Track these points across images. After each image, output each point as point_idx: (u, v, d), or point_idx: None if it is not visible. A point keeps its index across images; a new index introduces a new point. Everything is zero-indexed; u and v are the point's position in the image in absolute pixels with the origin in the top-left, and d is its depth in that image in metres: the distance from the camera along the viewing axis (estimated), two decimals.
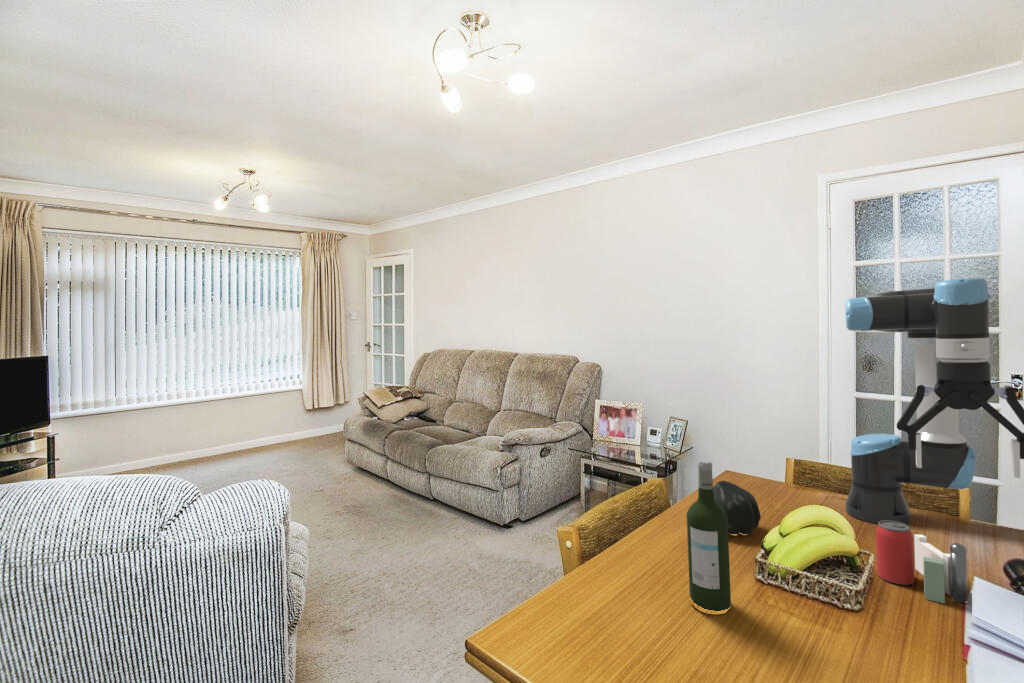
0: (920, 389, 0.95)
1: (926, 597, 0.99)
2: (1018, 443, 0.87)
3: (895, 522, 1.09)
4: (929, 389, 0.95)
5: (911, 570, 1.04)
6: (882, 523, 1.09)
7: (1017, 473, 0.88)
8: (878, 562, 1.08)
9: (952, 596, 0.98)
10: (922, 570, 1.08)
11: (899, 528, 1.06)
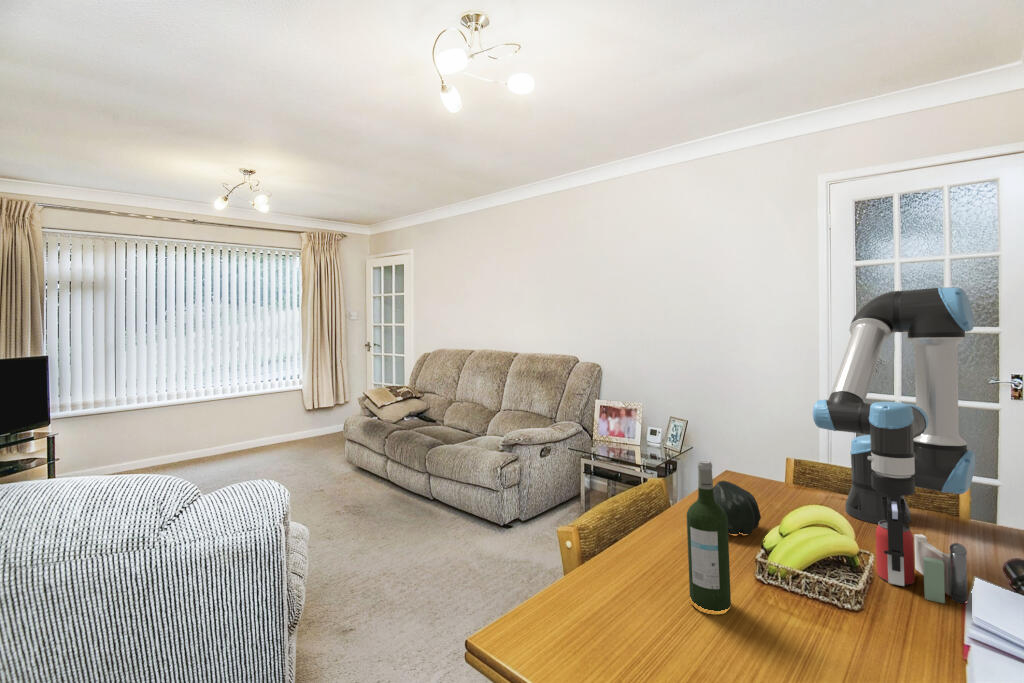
0: (885, 494, 1.12)
1: (926, 597, 0.99)
2: (887, 553, 1.05)
3: None
4: None
5: (911, 570, 1.04)
6: (882, 523, 1.09)
7: (888, 578, 1.05)
8: (878, 562, 1.08)
9: (952, 596, 0.98)
10: (922, 570, 1.08)
11: None
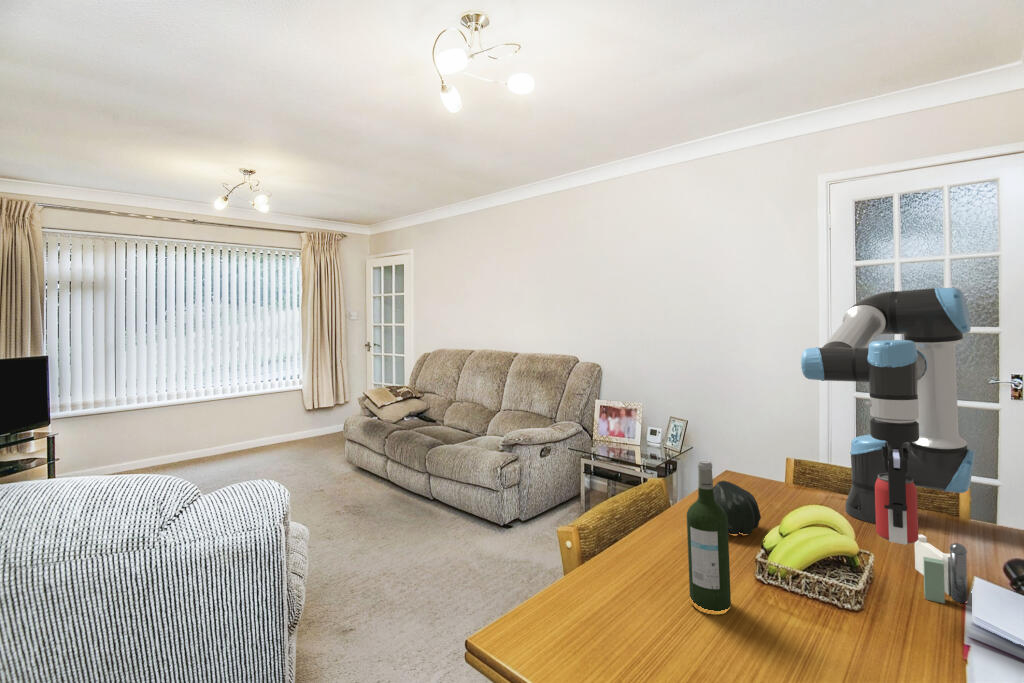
0: (885, 446, 1.01)
1: (926, 597, 0.99)
2: (888, 508, 0.93)
3: None
4: None
5: (915, 526, 0.92)
6: (882, 476, 0.97)
7: (889, 536, 0.93)
8: (877, 519, 0.96)
9: (952, 596, 0.98)
10: (922, 570, 1.08)
11: None
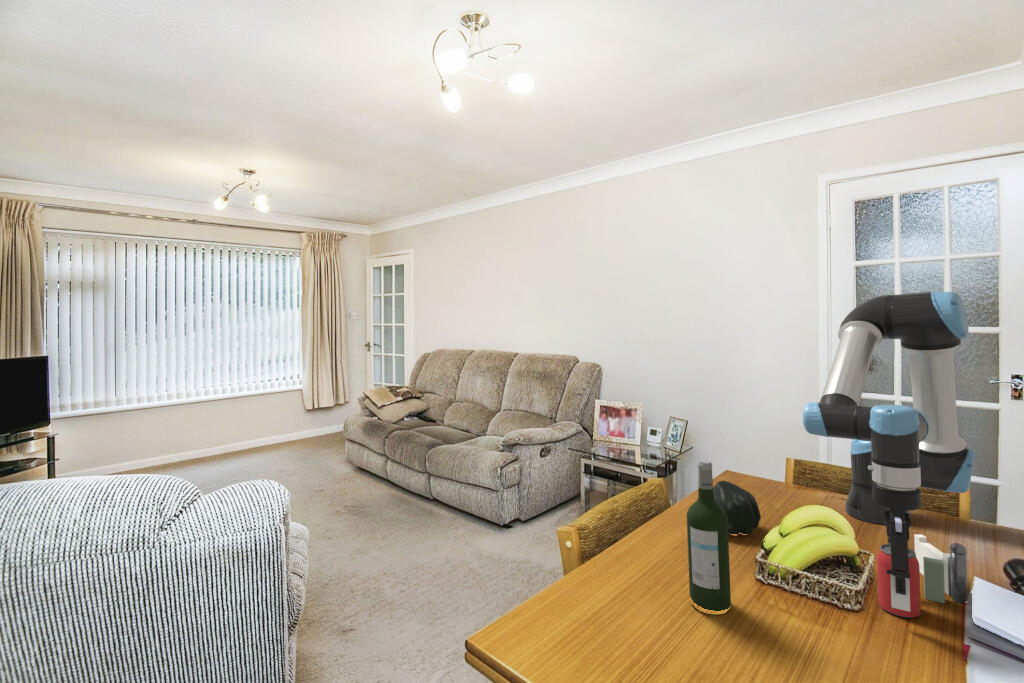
0: None
1: (926, 597, 0.99)
2: None
3: None
4: None
5: (917, 601, 0.93)
6: (884, 547, 0.97)
7: (891, 602, 0.91)
8: (880, 591, 0.96)
9: (952, 596, 0.98)
10: (922, 570, 1.08)
11: None
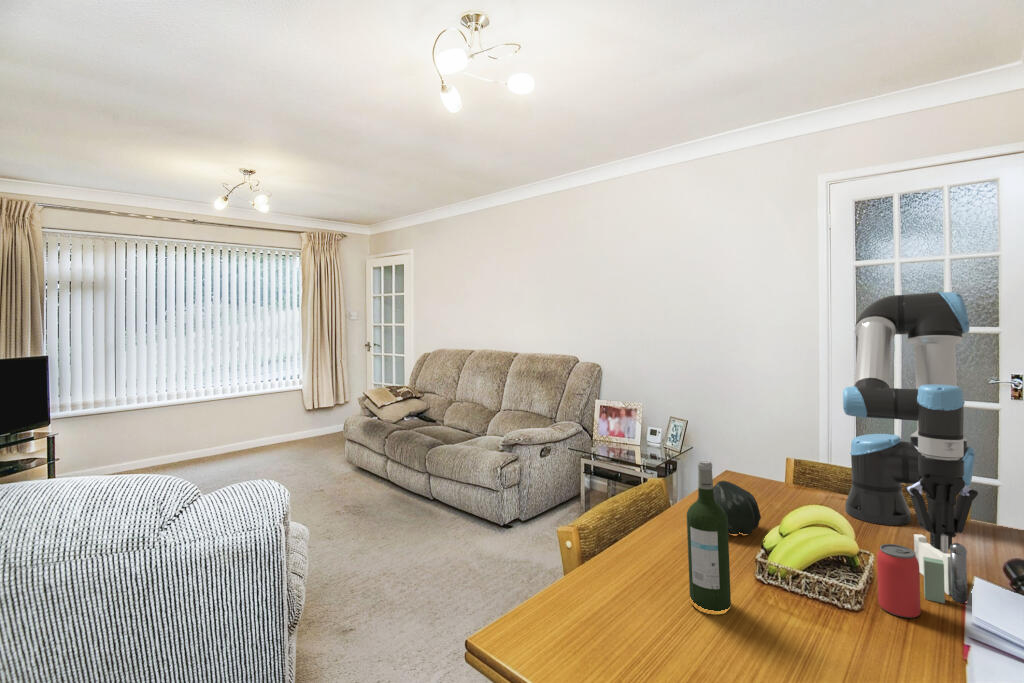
0: (915, 492, 1.06)
1: (926, 597, 0.99)
2: (947, 537, 1.05)
3: (899, 546, 0.97)
4: (918, 487, 1.06)
5: (917, 601, 0.93)
6: (884, 547, 0.97)
7: None
8: (880, 591, 0.96)
9: (952, 596, 0.98)
10: (922, 570, 1.08)
11: (903, 554, 0.95)
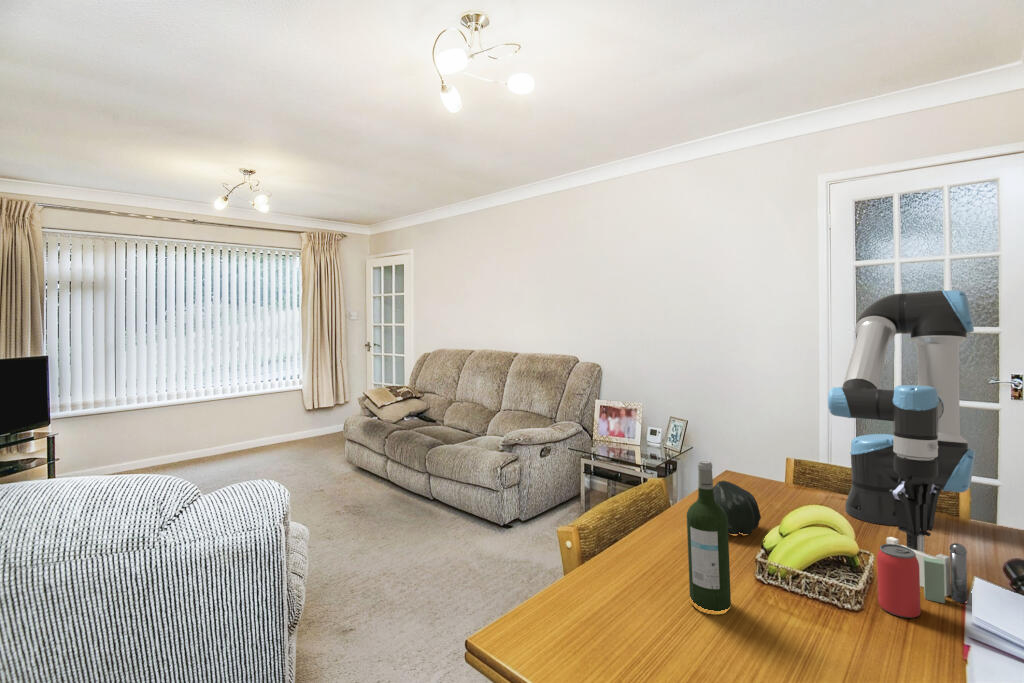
0: (903, 496, 1.04)
1: (926, 597, 0.99)
2: (923, 536, 1.05)
3: (899, 546, 0.97)
4: (902, 490, 1.05)
5: (917, 601, 0.93)
6: (884, 547, 0.97)
7: None
8: (880, 591, 0.96)
9: (952, 596, 0.98)
10: None
11: (903, 554, 0.95)
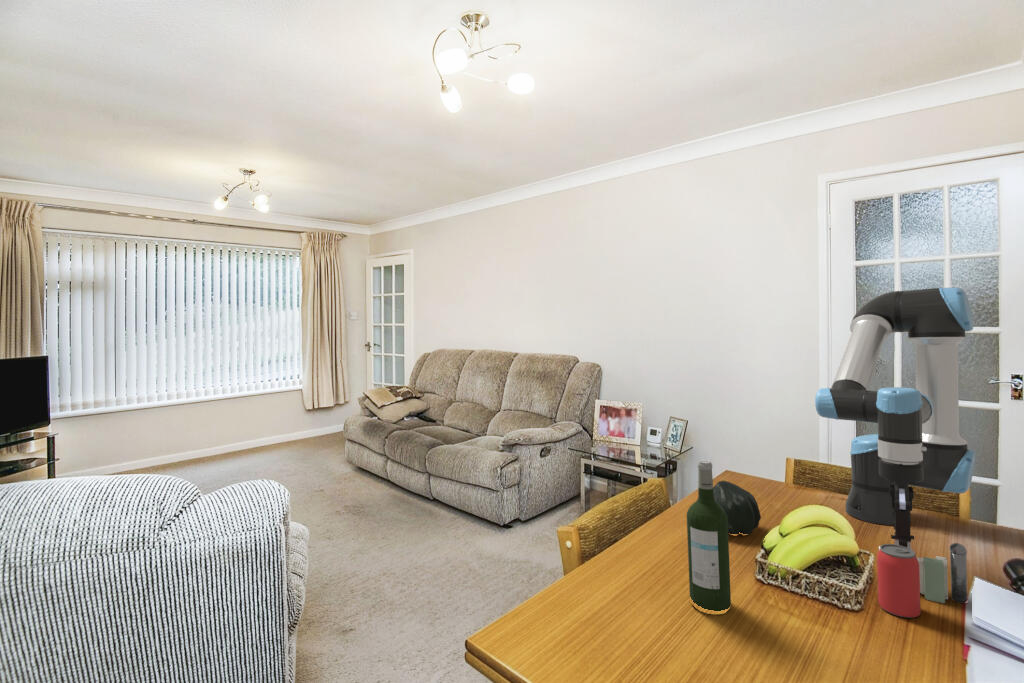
0: (910, 505, 0.99)
1: (926, 597, 0.99)
2: (910, 541, 1.04)
3: (899, 546, 0.97)
4: (904, 498, 1.00)
5: (917, 601, 0.93)
6: (884, 547, 0.97)
7: None
8: (880, 591, 0.96)
9: (952, 596, 0.98)
10: None
11: (903, 554, 0.95)
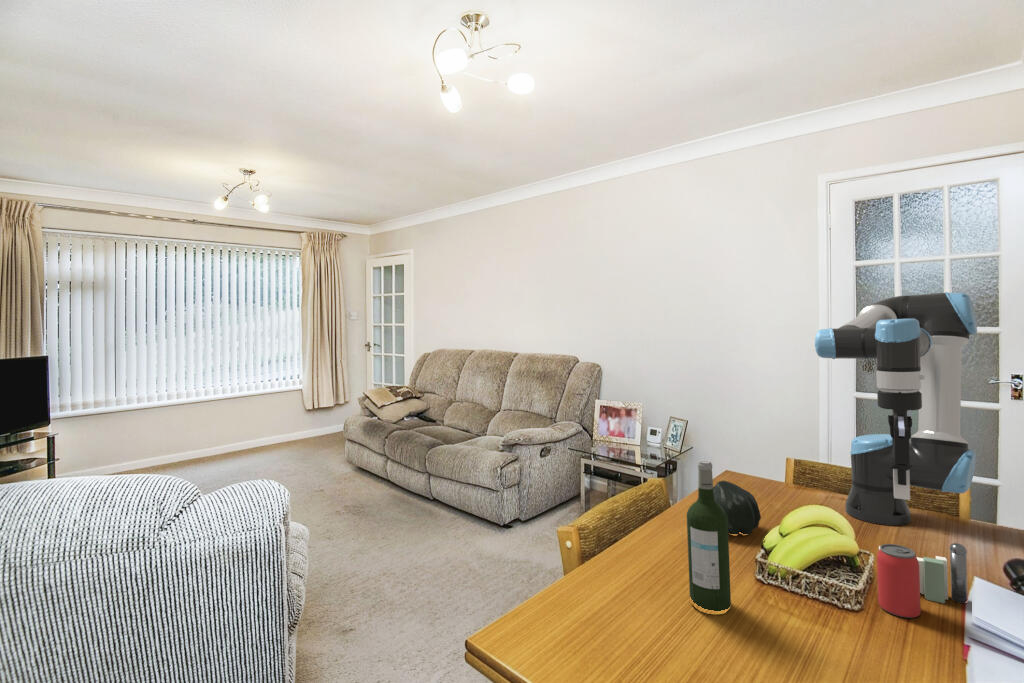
0: None
1: (926, 597, 0.99)
2: None
3: (899, 546, 0.97)
4: (903, 425, 1.01)
5: (917, 601, 0.93)
6: (884, 547, 0.97)
7: (909, 494, 1.05)
8: (880, 591, 0.96)
9: (952, 596, 0.98)
10: None
11: (903, 554, 0.95)
